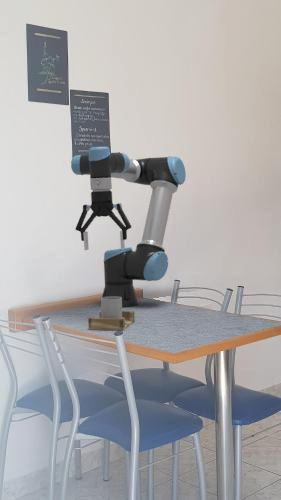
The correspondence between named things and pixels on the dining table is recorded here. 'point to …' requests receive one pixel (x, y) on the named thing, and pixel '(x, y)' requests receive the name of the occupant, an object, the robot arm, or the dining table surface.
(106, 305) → the cup
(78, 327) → the dining table surface
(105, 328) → the caddy
